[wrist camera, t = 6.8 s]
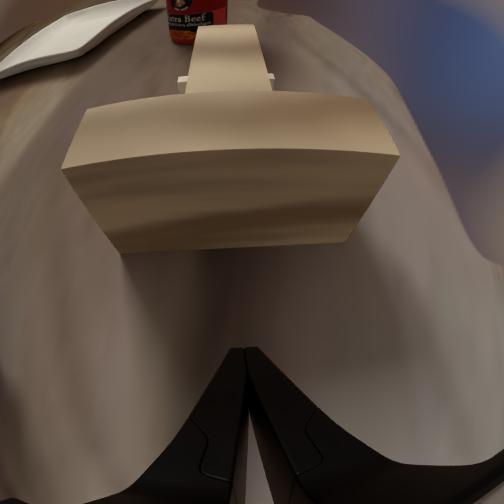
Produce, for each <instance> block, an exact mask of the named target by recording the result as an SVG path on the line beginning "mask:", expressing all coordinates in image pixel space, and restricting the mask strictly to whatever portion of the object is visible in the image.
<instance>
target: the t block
mask: <svg viewBox="0 0 504 504" xmlns="http://www.w3.org/2000/svg"><path fill="white" fill-rule="evenodd" d="M400 156H401V155H400V153H399V151H398V150H397V148H396V146H395V144H394V142H393V140H392V138H391V136H390V134H389V132H388V131H387V129H386V127H385V125H384V123H383V122H382V120H381V118H380V116H379V115H378V113H377V111H376V109H375V108H374V106H373V104H372V103H371V101H370V100H368V99H361V98H354V97H347V96H338V95H329V94H319V93H306V92H289V91H272V87H271V84H270V80H269V76H268V72H267V69H266V65H265V61H264V58H263V54H262V51H261V47H260V44H259V40H258V37H257V34H256V30H255V27H254V25H209V26H198V30H197V34H196V39H195V43H194V48H193V53H192V58H191V63H190V68H189V74H188V79H187V85H186V91H185V94H177V95H168V96H159V97H152V98H145V99H138V100H132V101H126V102H120V103H115V104H110V105H105V106H100V107H96V108H91V109H87V111H86V113H85V115H84V117H83V119H82V121H81V123H80V125H79V127H78V129H77V131H76V134H75V136H74V138H73V140H72V143H71V145H70V147H69V150H68V152H67V155H66V157H65V160H64V162H63V165H62V167H61V170H62V172H63V174H64V175H65V177H66V178H67V180H68V181H69V183H70V184H71V186H72V187H73V189H74V191H75V192H76V194H77V195H78V197H79V198H80V199H81V201H82V202H83V204H84V205H85V207H86V208H87V210H88V211H89V213H90V214H91V215H92V217H93V218H94V220H95V221H96V222H97V224H98V225H99V227H100V228H101V229H102V231H103V232H104V233H105V235H106V236H107V237H108V239H109V240H110V241H111V243H112V244H113V245H114V247H115V248H116V249H117V251H118V252H119V253H120V254H128V253H146V252H164V251H183V250H202V249H221V248H241V247H261V246H281V245H302V244H323V243H344V242H345V241H346V240H347V239H348V237H349V236H350V234H351V233H352V231H353V230H354V228H355V227H356V225H357V224H358V222H359V221H360V219H361V218H362V216H363V215H364V213H365V212H366V210H367V209H368V207H369V206H370V204H371V202H372V201H373V199H374V198H375V196H376V195H377V193H378V191H379V190H380V188H381V187H382V185H383V184H384V182H385V180H386V179H387V177H388V175H389V174H390V172H391V171H392V169H393V167H394V166H395V164H396V162H397V161H398V159H399V157H400Z"/></svg>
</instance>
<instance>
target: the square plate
mask: <svg viewBox="0 0 504 504" xmlns="http://www.w3.org/2000/svg"><path fill="white" fill-rule="evenodd" d="M157 1H158V0H117V1H112V2H108V3H104V4H100V5H96V6H92V7H89V8H86V9H83V10H80V11H77V12H74V13H71V14H68V15H66V16H64V17H62V18H60V19H59V20H57V21H55V22H54V23H52V24H51V25H49V26H47V27H46V28H44V29H42V30H41V31H39V32H38V33H36V34H35V35H34V36H32V37H31V38H29V39H28V40H27V41H25V42H24V43H23V44H21V45H20V46H19V47H18V48H16V49H15V50H14V51H13V52H12V53H10V54H9V55H8V56H7V57H6V58H5V59H4V60H3V61H2V62H1V63H0V79H1V78H5V77H8V76H11V75H14V74H17V73H21V72H24V71H27V70H31V69H34V68H38V67H41V66H45V65H49V64H54V63H58V62H63V61H67V60H70V59H73V58H77V57H80V56H82V55H83V54H85V53H86V52H87V51H89V50H91V49H92V48H94V47H95V46H97V45H98V44H99V43H100V42H102V41H103V40H104V39H106V38H107V37H108V36H110V35H111V34H112V33H114V32H115V31H116V30H118V29H119V28H121V27H122V26H124V25H125V24H127V23H128V22H130V21H131V20H133V19H134V18H136V17H137V16H138V15H139V14H141V13H142V12H144V11H146V10H147V9H149V8H151V7H152V6H153V5H154V4H156V3H157Z"/></svg>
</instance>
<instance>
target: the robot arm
mask: <svg viewBox="0 0 504 504" xmlns="http://www.w3.org/2000/svg"><path fill="white" fill-rule="evenodd" d="M249 413H250V418H251V422H252V426H253V430H254V433H255V437H256V441H257V445H258V448H259V452H260V456H261V459H262V463H263V467H264V470H265V474H266V477H267V481H268V484H269V488H270V491H271V495H272V498H273V501H274V504H504V449H503V450H502V451H500V452H499V453H498V454H496V455H495V456H493V457H492V458H490V459H488V460H486V461H484V462H481V463H477V464H473V465H461V466H433V465H412V464H403V463H399V462H396V461H393V460H391V459H388V458H386V457H385V456H383V455H381V454H380V453H378V452H377V451H375V450H374V449H372V448H370V447H369V446H367V445H366V444H364V443H363V442H361V441H360V440H358V439H357V438H355V437H354V436H352V435H351V434H350V433H348V432H347V431H345V430H344V429H343V428H341V427H340V426H339V425H337V424H336V423H335V422H334V421H333V420H332V419H330V418H329V417H328V416H327V415H326V414H325V413H324V412H323V411H322V410H321V409H320V408H318V407H317V406H316V405H315V404H314V403H313V402H312V401H311V400H310V399H309V398H308V397H307V396H306V395H305V394H304V393H303V392H302V391H301V390H300V389H299V388H298V387H297V386H296V385H295V384H294V383H293V382H292V381H291V380H290V379H289V378H288V377H287V376H286V375H285V374H284V373H283V372H282V371H281V370H280V369H279V368H278V367H277V366H276V365H275V364H274V363H273V362H272V361H271V360H270V359H269V358H268V357H267V356H266V355H265V354H264V353H263V352H262V351H261V350H260V349H259V348H258V347H245V348H244V349H243V348H231V349H230V350H229V351H228V353H227V355H226V356H225V358H224V360H223V361H222V363H221V365H220V366H219V368H218V370H217V371H216V373H215V374H214V376H213V378H212V379H211V381H210V383H209V384H208V386H207V388H206V389H205V391H204V392H203V394H202V396H201V397H200V399H199V401H198V402H197V404H196V405H195V407H194V409H193V410H192V412H191V413H190V415H189V418H187V420H186V421H185V423H184V424H183V426H182V427H181V429H180V430H179V432H178V433H177V435H176V436H175V438H174V439H173V440H172V441H171V443H170V444H169V445H168V446H167V447H166V449H165V450H164V451H163V452H162V453H161V454H160V456H159V457H158V458H157V459H156V460H155V461H154V462H153V463H152V464H151V465H150V466H149V468H148V469H147V470H146V471H145V472H144V473H143V474H142V475H141V476H140V477H139V478H138V479H137V480H136V481H135V482H134V483H133V484H132V485H131V486H129V487H128V488H126V489H125V490H123V491H121V492H119V493H117V494H114V495H111V496H108V497H104V498H101V499H98V500H95V501H91V502H88V503H84V504H245V494H246V472H247V451H248V428H249ZM0 504H28V503H26V502H24V501H21V500H19V499H16V498H8V499H5V500H1V501H0Z"/></svg>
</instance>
